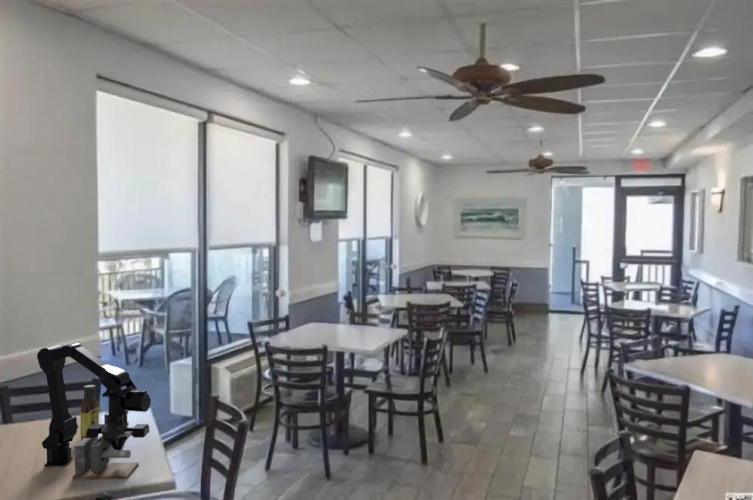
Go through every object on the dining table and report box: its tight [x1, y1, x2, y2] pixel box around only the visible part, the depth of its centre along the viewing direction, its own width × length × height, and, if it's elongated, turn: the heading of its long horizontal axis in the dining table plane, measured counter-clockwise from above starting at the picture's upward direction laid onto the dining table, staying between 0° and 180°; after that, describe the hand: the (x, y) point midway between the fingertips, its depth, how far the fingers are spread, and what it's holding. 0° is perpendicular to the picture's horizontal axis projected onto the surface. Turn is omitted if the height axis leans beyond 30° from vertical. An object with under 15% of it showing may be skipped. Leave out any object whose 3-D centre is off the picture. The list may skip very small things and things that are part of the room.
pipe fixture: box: [71, 438, 140, 480], centre depth 206 cm, size 17×11×10 cm, turn 92°
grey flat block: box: [91, 435, 110, 472], centre depth 206 cm, size 2×9×9 cm, turn 2°
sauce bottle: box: [79, 384, 100, 441], centre depth 236 cm, size 7×6×20 cm
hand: (118, 456), depth 209 cm, fingers closed
